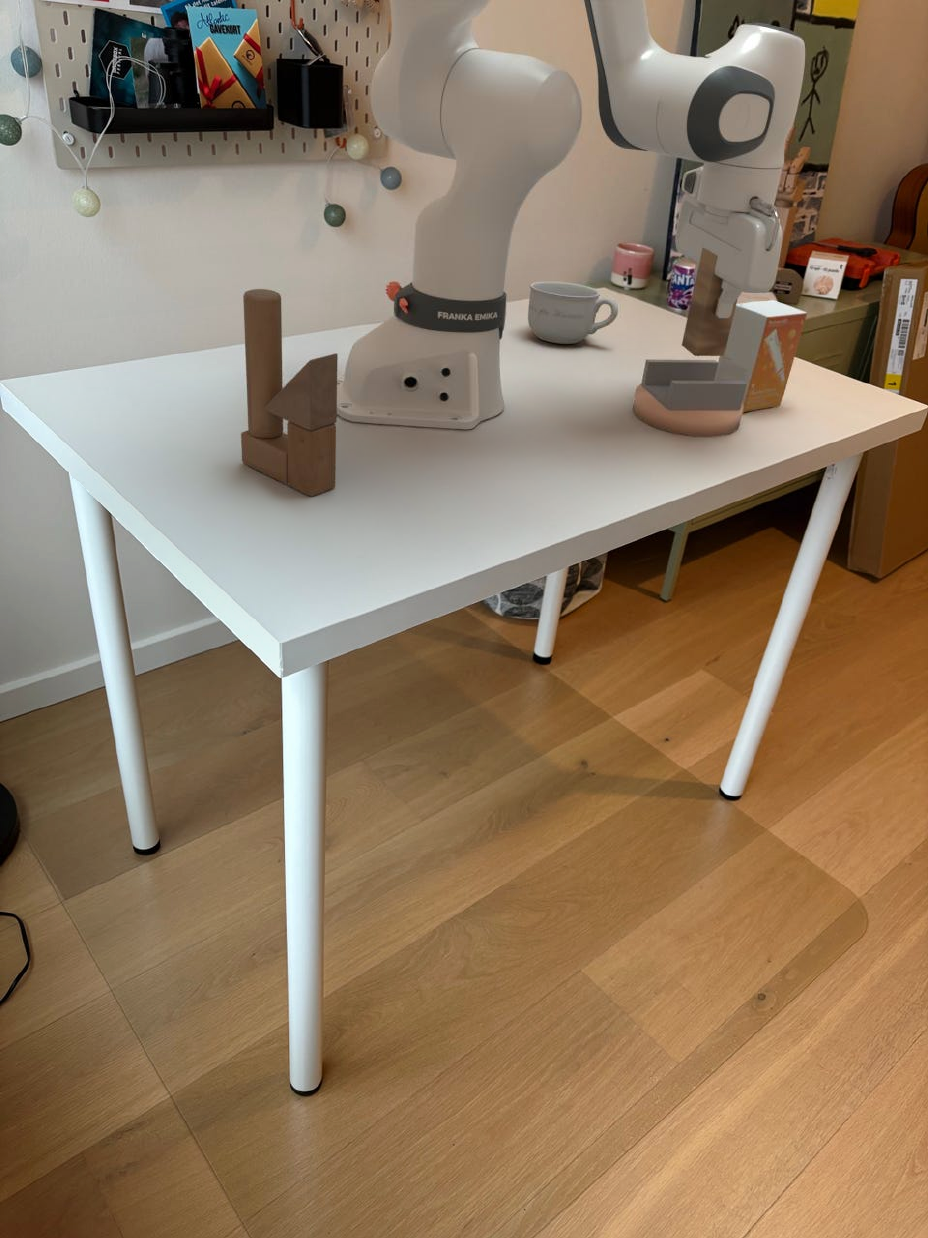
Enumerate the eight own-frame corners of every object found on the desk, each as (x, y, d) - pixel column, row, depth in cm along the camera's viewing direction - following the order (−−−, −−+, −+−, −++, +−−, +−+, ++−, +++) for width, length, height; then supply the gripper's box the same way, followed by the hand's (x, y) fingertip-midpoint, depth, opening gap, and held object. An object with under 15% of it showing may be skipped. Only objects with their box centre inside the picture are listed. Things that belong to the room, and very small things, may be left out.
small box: (742, 414, 128) (767, 316, 121) (708, 397, 132) (730, 302, 125) (782, 406, 132) (809, 311, 125) (747, 391, 136) (772, 298, 129)
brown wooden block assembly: (310, 498, 96) (310, 318, 86) (240, 464, 101) (233, 290, 91) (337, 488, 98) (340, 312, 88) (267, 455, 104) (262, 285, 94)
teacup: (511, 337, 148) (517, 284, 144) (546, 324, 156) (553, 273, 151) (589, 359, 142) (598, 305, 138) (622, 345, 150) (631, 293, 145)
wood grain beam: (694, 355, 119) (717, 256, 112) (681, 345, 122) (702, 247, 115) (723, 355, 120) (747, 256, 113) (710, 345, 123) (732, 248, 116)
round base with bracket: (657, 437, 118) (667, 390, 115) (616, 396, 129) (624, 352, 126) (758, 436, 121) (770, 390, 118) (710, 396, 133) (720, 354, 129)
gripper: (808, 209, 103) (774, 336, 110) (723, 174, 119) (700, 287, 127) (755, 207, 101) (725, 336, 109) (677, 171, 118) (656, 286, 125)
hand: (711, 309), depth 118 cm, fingers closed on wood grain beam, 4 cm apart
